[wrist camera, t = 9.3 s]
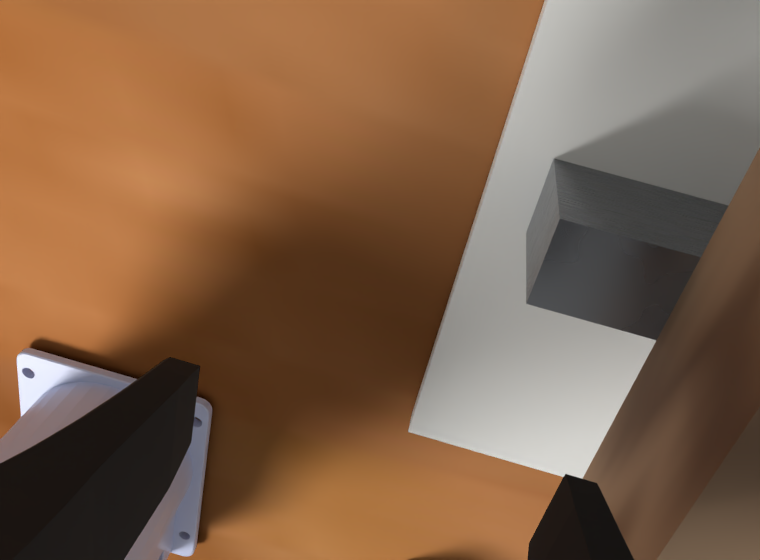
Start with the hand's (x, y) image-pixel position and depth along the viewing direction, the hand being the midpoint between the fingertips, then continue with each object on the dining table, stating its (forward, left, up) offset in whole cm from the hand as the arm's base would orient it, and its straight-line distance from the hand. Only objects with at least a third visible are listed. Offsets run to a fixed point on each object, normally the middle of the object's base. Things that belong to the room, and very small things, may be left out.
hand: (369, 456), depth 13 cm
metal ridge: (+2, -8, -10) cm, 13 cm away
